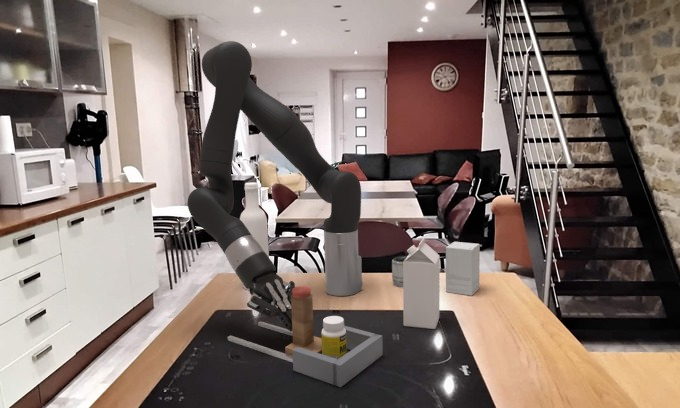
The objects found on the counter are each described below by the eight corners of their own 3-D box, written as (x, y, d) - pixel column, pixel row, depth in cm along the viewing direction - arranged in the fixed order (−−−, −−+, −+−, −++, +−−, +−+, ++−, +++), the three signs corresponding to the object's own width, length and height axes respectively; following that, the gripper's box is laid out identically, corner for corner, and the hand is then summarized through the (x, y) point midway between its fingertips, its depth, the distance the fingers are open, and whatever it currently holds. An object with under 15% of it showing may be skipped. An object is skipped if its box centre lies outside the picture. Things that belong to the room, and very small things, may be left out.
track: (260, 324, 109) (260, 321, 109) (324, 343, 99) (324, 340, 98) (227, 340, 101) (227, 336, 101) (293, 362, 91) (292, 358, 91)
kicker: (307, 341, 99) (305, 282, 97) (335, 349, 95) (333, 288, 93) (285, 354, 94) (282, 292, 92) (313, 363, 90) (311, 299, 88)
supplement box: (480, 288, 130) (480, 243, 128) (471, 296, 124) (472, 249, 122) (453, 284, 134) (454, 240, 132) (444, 292, 128) (445, 246, 126)
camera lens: (418, 283, 136) (418, 256, 135) (407, 289, 131) (407, 261, 130) (399, 279, 140) (399, 253, 139) (388, 285, 135) (387, 258, 134)
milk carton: (439, 317, 111) (439, 238, 108) (435, 330, 104) (435, 245, 101) (409, 314, 113) (408, 236, 110) (403, 326, 106) (402, 243, 103)
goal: (338, 341, 99) (337, 323, 99) (382, 354, 93) (382, 335, 92) (293, 370, 88) (292, 350, 87) (340, 387, 82) (340, 365, 81)
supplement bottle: (343, 368, 88) (342, 325, 87) (319, 366, 89) (317, 323, 88) (349, 356, 93) (348, 315, 91) (325, 354, 94) (324, 314, 92)
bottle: (261, 280, 143) (255, 180, 138) (276, 285, 137) (271, 182, 132) (237, 286, 137) (231, 183, 133) (252, 292, 132) (246, 185, 127)
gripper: (234, 258, 94) (282, 330, 89) (279, 244, 105) (325, 308, 99) (218, 279, 98) (263, 350, 93) (263, 264, 109) (306, 326, 103)
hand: (295, 328), depth 96 cm, fingers closed
